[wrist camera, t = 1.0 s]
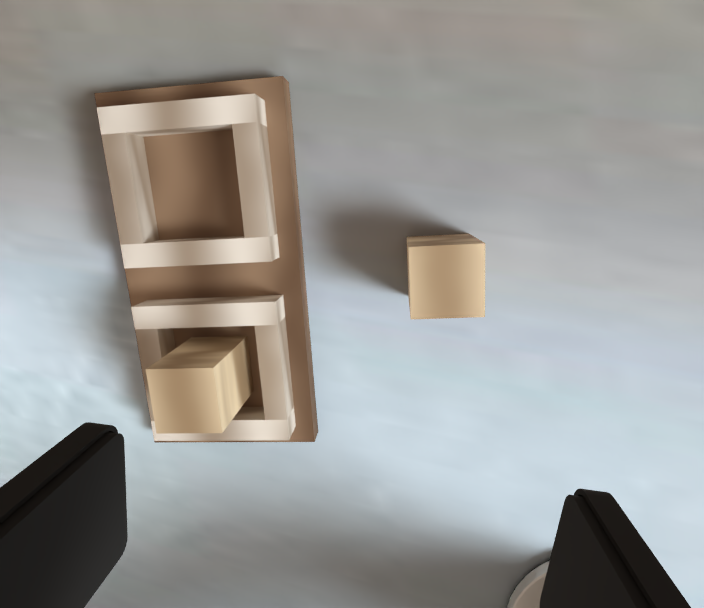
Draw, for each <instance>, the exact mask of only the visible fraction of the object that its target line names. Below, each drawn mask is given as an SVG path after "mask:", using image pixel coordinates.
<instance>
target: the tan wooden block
mask: <svg viewBox="0 0 704 608" xmlns="http://www.w3.org/2000/svg"><path fill="white" fill-rule="evenodd" d="M407 264H408V294H409V306H410V317H411V319H436V318H467V317H485V243H484V242H482V241H480V240H479V239H477V238H475V237H474V236H472V235H470V234H452V235H432V236H413V237H407Z"/></svg>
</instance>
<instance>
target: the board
mask: <svg viewBox="0 0 704 608" xmlns="http://www.w3.org/2000/svg"><path fill="white" fill-rule="evenodd" d="M94 94H95V100H96V105H97V113H98V119H99V124H100V130H101V136H102V142H103V147H104V153H105V159H106V165H107V171H108V176H109V182H110V188H111V194H112V199H113V205H114V211H115V217H116V223H117V228H118V234H119V240H120V246H121V251H122V257H123V263H124V269H125V273H126V279H127V285H128V290H129V296H130V302H131V309H132V315H133V321H134V327H135V332H136V338H137V344H138V350H139V355H140V361H141V367H142V373H143V379H144V384H145V390H146V396H147V402H148V407H149V413H150V419H151V425H152V431H153V436H154V441H155V442H315V439H316V436H317V433H318V425H317V413H316V401H315V389H314V377H313V365H312V353H311V342H310V330H309V318H308V306H307V294H306V282H305V270H304V258H303V247H302V235H301V223H300V211H299V199H298V187H297V175H296V164H295V152H294V140H293V128H292V116H291V104H290V92H289V82H288V81H287V80H286V79H285V78H284V77H283V76H279V77H268V78H257V79H246V80H235V81H225V82H214V83H203V84H192V85H181V86H170V87H159V88H148V89H137V90H126V91H116V92H105V93H94Z"/></svg>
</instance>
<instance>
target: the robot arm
mask: <svg viewBox="0 0 704 608" xmlns="http://www.w3.org/2000/svg"><path fill="white" fill-rule="evenodd" d="M126 543H127V510H126V482H125V453H124V437H123V435H122V434H118V431H117V429H116V427H114V426H112V425H104V424H97V423H84V424H82V425H81V426H80V427H78V428H77V429H76V430H74V431H73V432H72V433H71V434H69V435H68V436H67V437H65V438H64V439H63V440H62V441H60V442H59V443H58V444H56V445H55V446H54V447H53V448H51V449H50V450H49V451H47V452H46V453H45V454H43V455H42V456H41V457H40V458H38V459H37V460H36V461H34V462H33V463H32V464H31V465H29V466H28V467H27V468H25V469H24V470H23V471H21V472H20V473H19V474H18V475H16V476H15V477H14V478H12V479H11V480H10V481H9V482H7V483H6V484H5V485H3V486H2V487H1V488H0V608H84V607H85V606H86V604H87V603H88V601H89V600H90V599H91V597H92V596H93V595H94V593H95V592H96V590H97V589H98V588H99V586H100V585H101V584H102V582H103V581H104V580H105V578H106V577H107V575H108V574H109V573H110V571H111V570H112V569H113V567H114V566H115V564H116V563H117V562H118V560H119V559H120V557H121V556H122V554H123V552H124V550H125V547H126ZM507 608H691V607H690V606H689V604H688V603H687V601H686V600H685V598H684V597H683V596H682V594H681V593H680V591H679V590H678V588H677V587H676V586H675V584H674V583H673V581H672V580H671V579H670V577H669V576H668V574H667V573H666V571H665V570H664V569H663V567H662V566H661V564H660V563H659V561H658V560H657V559H656V557H655V556H654V554H653V553H652V551H651V550H650V549H649V547H648V546H647V544H646V543H645V541H644V540H643V539H642V537H641V536H640V534H639V533H638V532H637V530H636V529H635V527H634V526H633V524H632V523H631V522H630V520H629V519H628V517H627V516H626V514H625V513H624V512H623V510H622V509H621V507H620V506H619V504H618V503H617V502H616V500H615V499H614V497H613V496H612V495H611V494H610V493H607V492H600V491H593V490H586V489H578V490H576V492H575V493H574V495H568V496H567V497H566V499H565V502H564V506H563V510H562V514H561V518H560V522H559V526H558V530H557V533H556V537H555V541H554V545H553V549H552V553H551V557H550V561H548V562H546V563H544V564H542V565H540V566H538V567H537V568H535V569H534V570H533V571H531V572H530V573H529V574H527V575H526V576H525V578H524V579H523V580H522V581H521V582H520V583H519V584H518V585H517V587H516V588H515V590H514V592H513V593H512V595H511V597H510V600H509V603H508V606H507Z"/></svg>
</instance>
